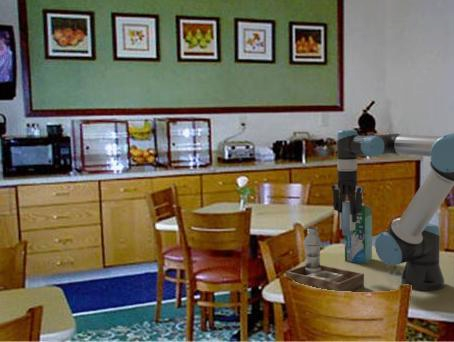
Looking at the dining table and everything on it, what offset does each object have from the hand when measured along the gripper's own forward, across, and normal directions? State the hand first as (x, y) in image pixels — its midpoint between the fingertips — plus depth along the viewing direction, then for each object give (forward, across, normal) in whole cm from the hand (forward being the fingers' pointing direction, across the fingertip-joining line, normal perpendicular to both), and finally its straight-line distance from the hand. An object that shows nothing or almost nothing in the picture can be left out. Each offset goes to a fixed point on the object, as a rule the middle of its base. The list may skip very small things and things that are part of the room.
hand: (347, 229), depth 227 cm
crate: (+19, -1, +16) cm, 25 cm away
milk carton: (+19, +11, -23) cm, 32 cm away
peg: (+2, 0, 0) cm, 2 cm away
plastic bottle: (+19, +7, +12) cm, 24 cm away
